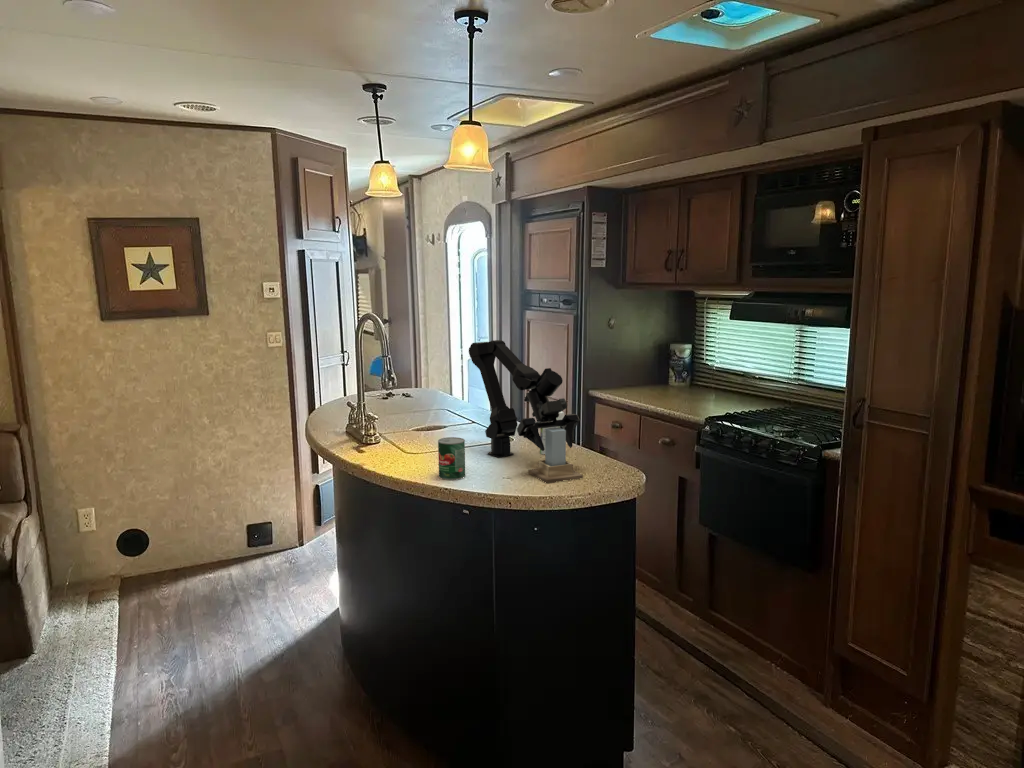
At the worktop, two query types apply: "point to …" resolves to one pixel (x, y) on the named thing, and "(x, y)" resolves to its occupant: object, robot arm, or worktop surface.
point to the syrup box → (543, 431)
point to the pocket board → (555, 472)
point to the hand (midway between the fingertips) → (557, 448)
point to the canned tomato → (451, 458)
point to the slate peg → (555, 447)
